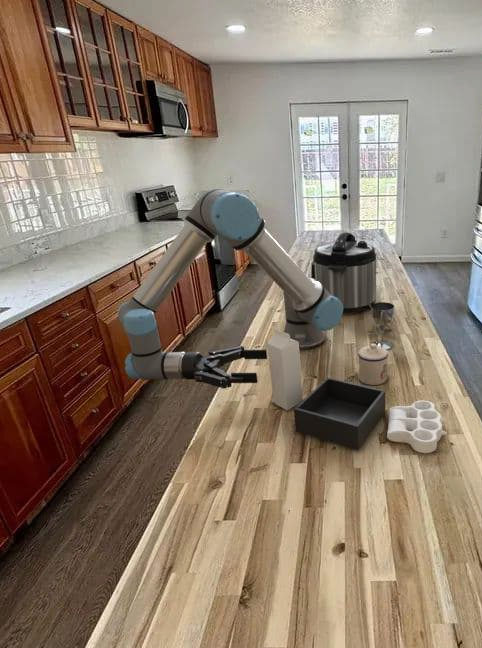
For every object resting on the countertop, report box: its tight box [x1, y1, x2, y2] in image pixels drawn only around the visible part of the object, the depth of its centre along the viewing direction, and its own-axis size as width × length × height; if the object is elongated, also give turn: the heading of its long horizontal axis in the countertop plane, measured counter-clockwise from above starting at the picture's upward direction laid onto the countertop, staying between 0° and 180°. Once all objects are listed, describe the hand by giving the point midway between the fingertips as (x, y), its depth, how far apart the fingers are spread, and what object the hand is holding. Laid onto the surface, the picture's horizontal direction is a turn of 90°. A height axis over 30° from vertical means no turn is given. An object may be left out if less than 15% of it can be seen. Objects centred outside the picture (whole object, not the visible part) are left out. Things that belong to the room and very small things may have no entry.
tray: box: [293, 376, 387, 451], centre depth 113 cm, size 18×18×7 cm
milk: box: [267, 328, 304, 411], centre depth 119 cm, size 6×6×22 cm
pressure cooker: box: [310, 231, 377, 314], centre depth 188 cm, size 30×28×32 cm
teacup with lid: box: [357, 343, 389, 386], centre depth 134 cm, size 12×9×12 cm
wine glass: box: [370, 301, 395, 350], centre depth 153 cm, size 8×8×15 cm
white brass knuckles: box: [386, 400, 448, 454], centre depth 110 cm, size 3×18×15 cm
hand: (262, 365), depth 119 cm, fingers open, 13 cm apart
